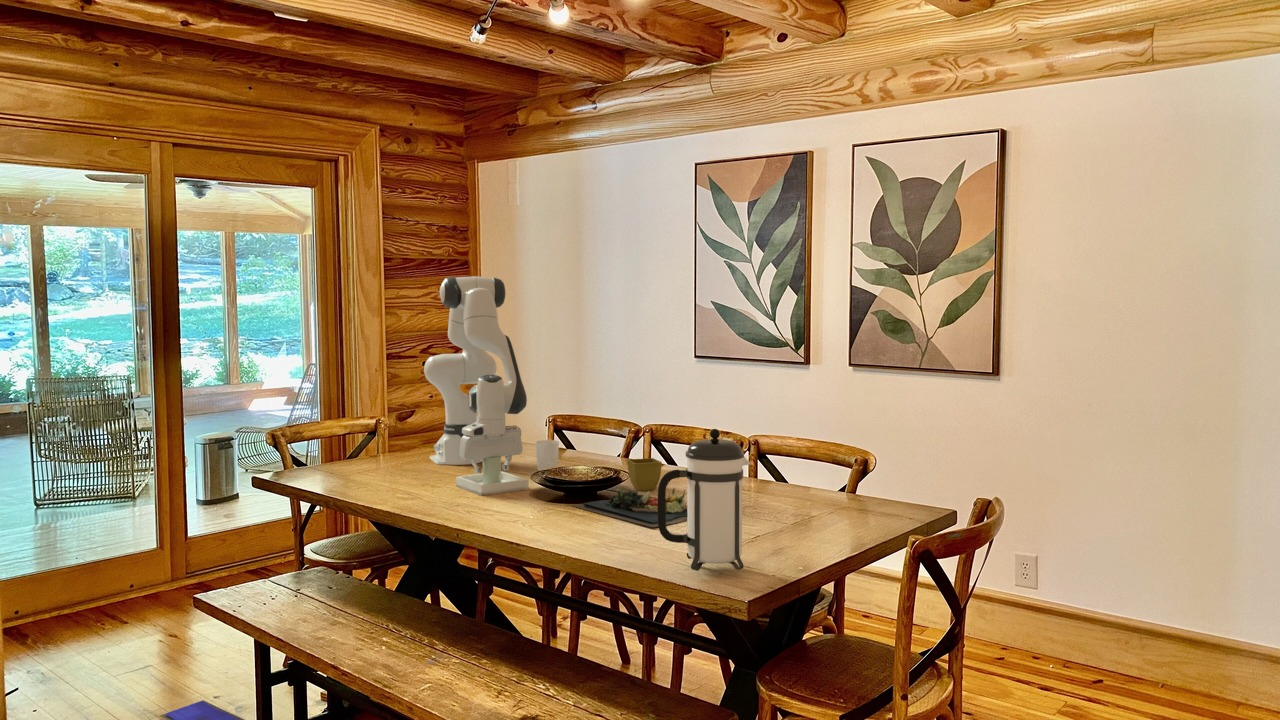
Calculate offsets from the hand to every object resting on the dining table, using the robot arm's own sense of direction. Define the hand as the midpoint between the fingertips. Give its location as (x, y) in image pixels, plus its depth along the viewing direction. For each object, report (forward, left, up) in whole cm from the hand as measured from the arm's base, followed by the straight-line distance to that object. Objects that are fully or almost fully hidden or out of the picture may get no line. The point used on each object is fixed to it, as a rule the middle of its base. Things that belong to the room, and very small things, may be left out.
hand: (491, 471), depth 293 cm
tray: (0, 0, -5) cm, 5 cm away
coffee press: (+106, 0, -5) cm, 106 cm away
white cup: (-16, +29, -5) cm, 34 cm away
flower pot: (+30, +37, -5) cm, 48 cm away
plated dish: (+52, +22, -6) cm, 57 cm away
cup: (0, 0, -4) cm, 4 cm away
